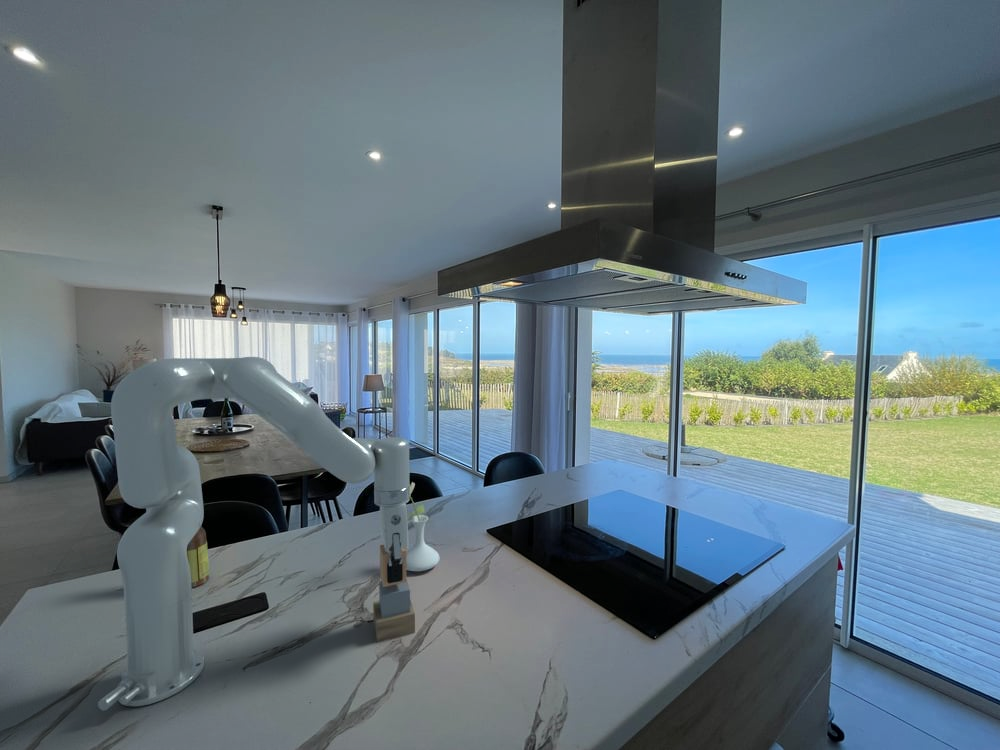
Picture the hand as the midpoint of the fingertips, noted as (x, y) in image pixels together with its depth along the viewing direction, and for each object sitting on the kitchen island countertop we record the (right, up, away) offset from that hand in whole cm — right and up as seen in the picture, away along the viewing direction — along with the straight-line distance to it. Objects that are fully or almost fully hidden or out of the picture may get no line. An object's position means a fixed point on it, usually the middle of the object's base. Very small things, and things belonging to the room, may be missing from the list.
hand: (392, 574), depth 92 cm
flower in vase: (0, -11, +27) cm, 29 cm away
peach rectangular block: (0, -1, 0) cm, 1 cm away
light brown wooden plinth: (0, -12, +1) cm, 12 cm away
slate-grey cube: (0, -8, +1) cm, 8 cm away
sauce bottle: (-57, -11, +18) cm, 61 cm away
